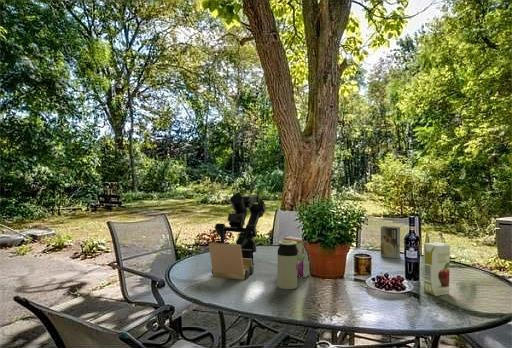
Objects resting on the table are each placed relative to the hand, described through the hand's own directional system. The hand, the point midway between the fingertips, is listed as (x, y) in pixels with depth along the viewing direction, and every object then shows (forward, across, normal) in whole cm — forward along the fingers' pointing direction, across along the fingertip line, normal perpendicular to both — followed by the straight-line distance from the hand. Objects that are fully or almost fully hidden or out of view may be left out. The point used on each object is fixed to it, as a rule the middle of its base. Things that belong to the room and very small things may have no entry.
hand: (231, 245), depth 167 cm
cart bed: (+8, 0, +11) cm, 14 cm away
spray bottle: (+2, +27, +17) cm, 32 cm away
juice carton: (+9, +83, +11) cm, 84 cm away
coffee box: (-34, +70, +53) cm, 94 cm away
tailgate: (+11, 0, +5) cm, 12 cm away
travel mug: (+15, +27, +4) cm, 31 cm away
